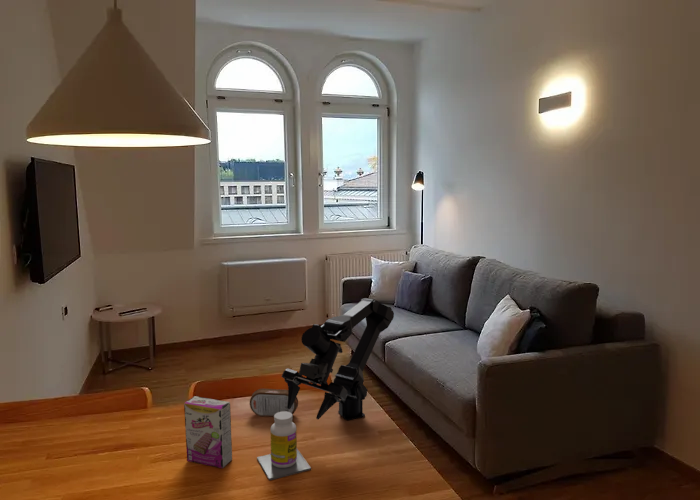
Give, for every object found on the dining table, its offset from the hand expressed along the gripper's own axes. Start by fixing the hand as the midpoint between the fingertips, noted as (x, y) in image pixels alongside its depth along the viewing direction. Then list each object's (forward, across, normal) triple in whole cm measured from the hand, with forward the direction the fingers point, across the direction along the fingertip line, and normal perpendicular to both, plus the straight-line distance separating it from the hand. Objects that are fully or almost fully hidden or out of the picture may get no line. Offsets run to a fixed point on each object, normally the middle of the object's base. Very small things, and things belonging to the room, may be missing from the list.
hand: (302, 413), depth 144 cm
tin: (+1, -17, +17) cm, 24 cm away
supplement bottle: (+13, +1, -1) cm, 13 cm away
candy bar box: (+20, -17, -5) cm, 27 cm away
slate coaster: (+14, +1, -1) cm, 14 cm away
